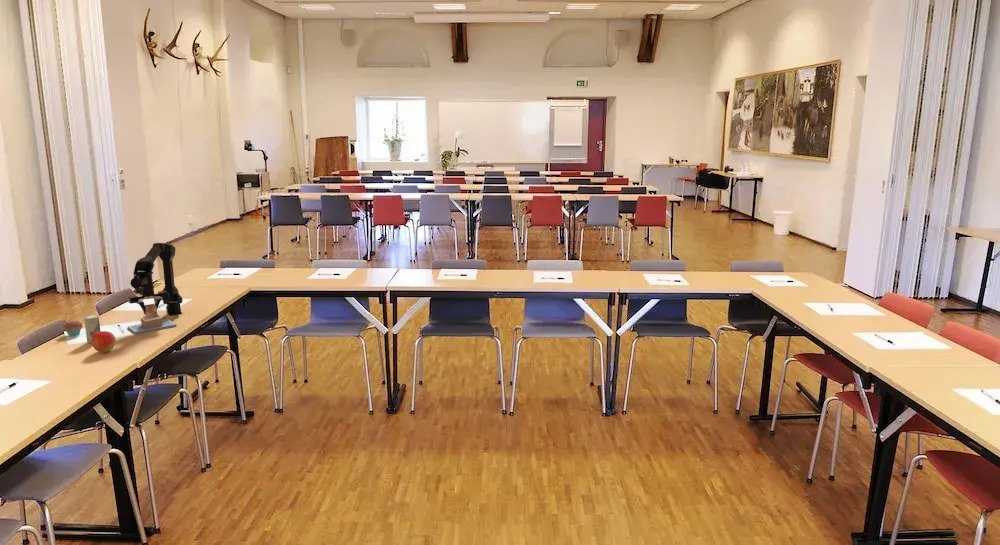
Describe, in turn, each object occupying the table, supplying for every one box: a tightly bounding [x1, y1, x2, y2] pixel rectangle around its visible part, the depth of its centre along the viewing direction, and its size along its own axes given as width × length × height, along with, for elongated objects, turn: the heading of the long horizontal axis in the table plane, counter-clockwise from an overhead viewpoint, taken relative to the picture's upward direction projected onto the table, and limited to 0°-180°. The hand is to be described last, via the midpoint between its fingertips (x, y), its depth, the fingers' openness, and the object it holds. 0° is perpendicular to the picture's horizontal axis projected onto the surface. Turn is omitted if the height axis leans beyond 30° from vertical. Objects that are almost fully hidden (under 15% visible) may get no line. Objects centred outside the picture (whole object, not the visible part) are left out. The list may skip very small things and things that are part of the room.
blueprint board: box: [127, 313, 178, 335], centre depth 349 cm, size 20×14×6 cm
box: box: [83, 315, 102, 344], centre depth 325 cm, size 5×4×13 cm
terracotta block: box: [143, 303, 158, 317], centre depth 347 cm, size 5×5×5 cm
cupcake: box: [62, 313, 84, 337], centre depth 336 cm, size 9×8×12 cm
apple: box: [92, 330, 116, 354], centre depth 311 cm, size 10×10×10 cm
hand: (150, 312), depth 348 cm, fingers closed on terracotta block, 5 cm apart
